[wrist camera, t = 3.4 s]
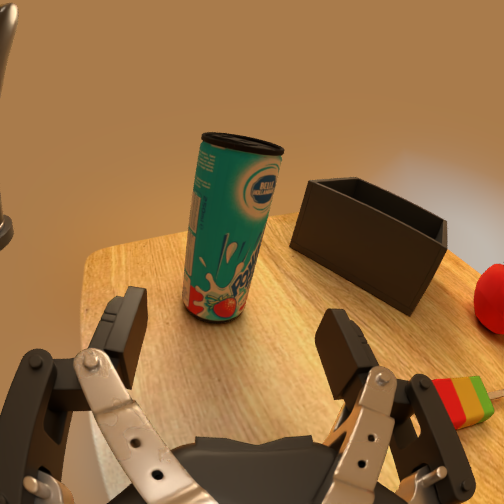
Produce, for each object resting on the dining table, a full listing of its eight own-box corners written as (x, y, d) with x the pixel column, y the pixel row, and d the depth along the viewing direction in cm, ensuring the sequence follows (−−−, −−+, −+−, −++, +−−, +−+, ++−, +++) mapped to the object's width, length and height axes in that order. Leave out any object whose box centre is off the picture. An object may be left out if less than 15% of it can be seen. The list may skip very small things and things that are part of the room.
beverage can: (210, 336, 22) (245, 148, 15) (169, 297, 25) (185, 131, 18) (256, 309, 26) (300, 152, 19) (215, 278, 29) (242, 134, 22)
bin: (288, 246, 39) (308, 180, 35) (340, 223, 54) (355, 176, 49) (409, 316, 30) (447, 248, 25) (425, 268, 44) (447, 221, 39)
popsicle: (414, 389, 20) (426, 377, 19) (492, 381, 20) (502, 371, 19) (429, 437, 15) (443, 427, 14) (507, 414, 15) (517, 404, 14)
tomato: (493, 351, 25) (532, 294, 20) (453, 303, 35) (483, 249, 30) (514, 338, 28) (545, 291, 23) (480, 300, 38) (506, 254, 33)
